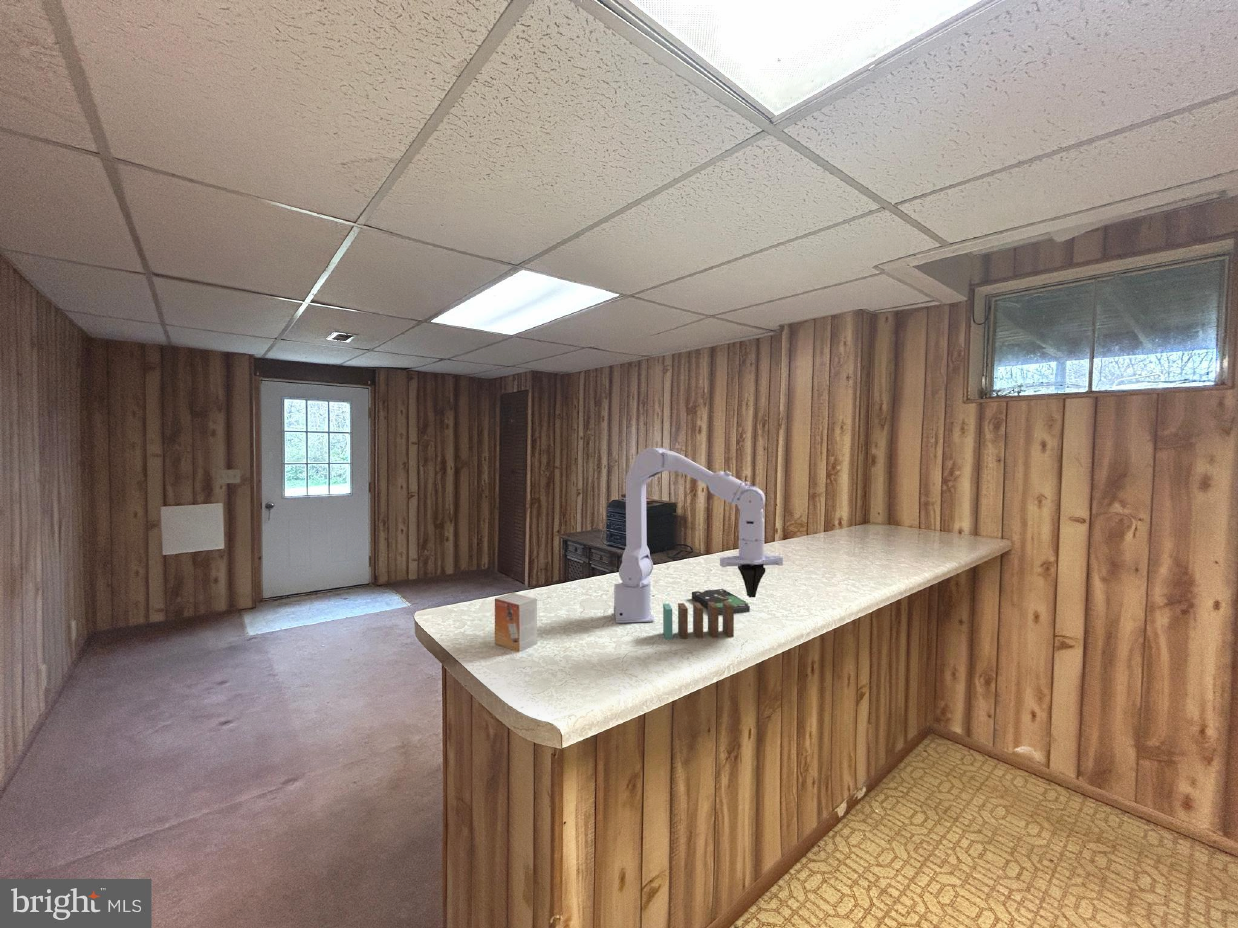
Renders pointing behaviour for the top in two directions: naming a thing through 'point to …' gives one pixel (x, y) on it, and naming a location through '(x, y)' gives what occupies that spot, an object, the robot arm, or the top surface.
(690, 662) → the top surface
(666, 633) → the teal domino
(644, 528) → the robot arm
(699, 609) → the domino
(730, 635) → the domino
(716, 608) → the domino
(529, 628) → the small box
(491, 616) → the top surface
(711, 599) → the disk drive
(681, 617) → the domino
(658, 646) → the top surface
